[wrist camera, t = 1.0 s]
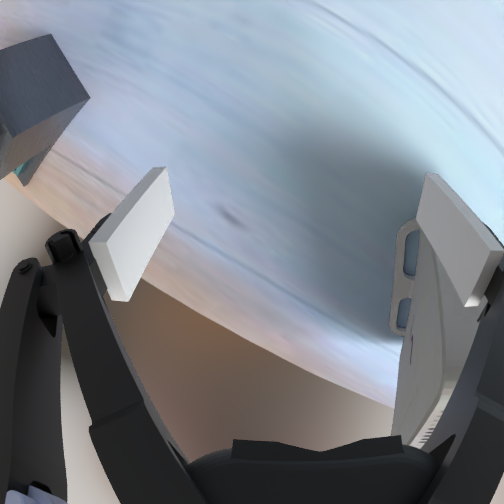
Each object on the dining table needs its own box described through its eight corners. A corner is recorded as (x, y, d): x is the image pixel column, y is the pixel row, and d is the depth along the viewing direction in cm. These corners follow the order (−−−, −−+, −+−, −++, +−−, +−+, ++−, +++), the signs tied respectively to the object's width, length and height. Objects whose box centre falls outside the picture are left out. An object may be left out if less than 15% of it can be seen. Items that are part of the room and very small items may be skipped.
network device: (397, 185, 26) (401, 388, 12) (480, 188, 23) (549, 381, 9) (385, 346, 41) (363, 478, 27) (440, 348, 38) (432, 480, 24)
